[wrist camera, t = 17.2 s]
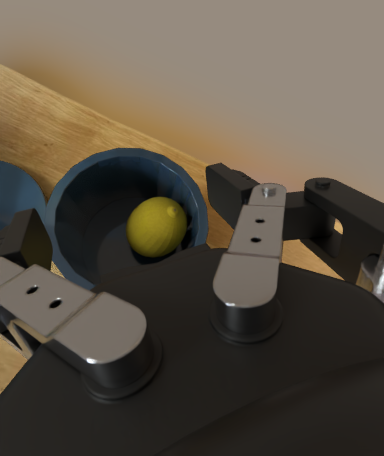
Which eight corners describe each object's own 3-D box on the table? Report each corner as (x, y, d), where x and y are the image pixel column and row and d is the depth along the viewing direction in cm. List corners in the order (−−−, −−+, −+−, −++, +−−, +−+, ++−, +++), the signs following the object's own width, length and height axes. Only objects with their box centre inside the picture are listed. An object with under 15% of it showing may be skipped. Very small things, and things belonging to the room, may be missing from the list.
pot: (73, 307, 29) (37, 307, 20) (78, 193, 32) (49, 146, 23) (193, 299, 31) (214, 296, 22) (187, 193, 34) (202, 149, 25)
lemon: (127, 211, 32) (158, 171, 26) (169, 235, 33) (207, 203, 27) (106, 252, 28) (136, 217, 22) (154, 276, 30) (193, 250, 24)
